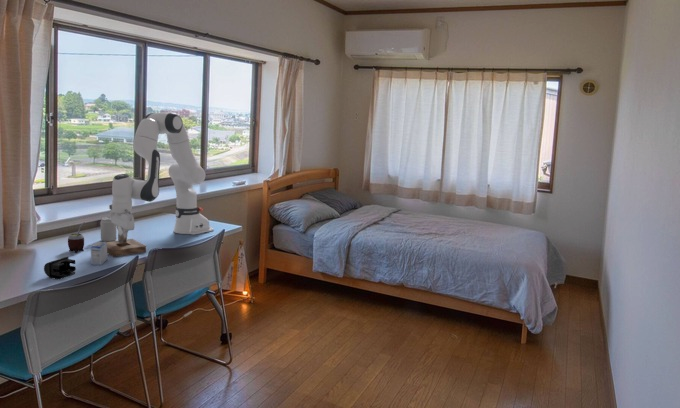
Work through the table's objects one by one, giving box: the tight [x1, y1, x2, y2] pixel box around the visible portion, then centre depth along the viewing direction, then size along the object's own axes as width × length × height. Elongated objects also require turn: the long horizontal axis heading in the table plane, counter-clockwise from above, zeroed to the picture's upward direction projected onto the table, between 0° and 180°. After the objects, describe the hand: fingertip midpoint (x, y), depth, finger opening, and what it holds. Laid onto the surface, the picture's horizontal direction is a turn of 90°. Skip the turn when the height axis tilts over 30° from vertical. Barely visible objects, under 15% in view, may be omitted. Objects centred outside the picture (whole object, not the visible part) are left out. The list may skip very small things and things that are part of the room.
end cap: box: [43, 256, 76, 280], centre depth 220 cm, size 10×7×7 cm
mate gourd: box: [67, 222, 86, 254], centre depth 253 cm, size 8×8×15 cm
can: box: [99, 216, 118, 242], centre depth 274 cm, size 8×8×12 cm
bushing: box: [117, 226, 128, 243], centre depth 259 cm, size 4×4×8 cm
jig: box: [107, 238, 147, 258], centre depth 260 cm, size 16×16×3 cm
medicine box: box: [90, 241, 108, 266], centre depth 239 cm, size 8×4×9 cm, turn 5°
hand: (122, 235), depth 259 cm, fingers closed on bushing, 4 cm apart
